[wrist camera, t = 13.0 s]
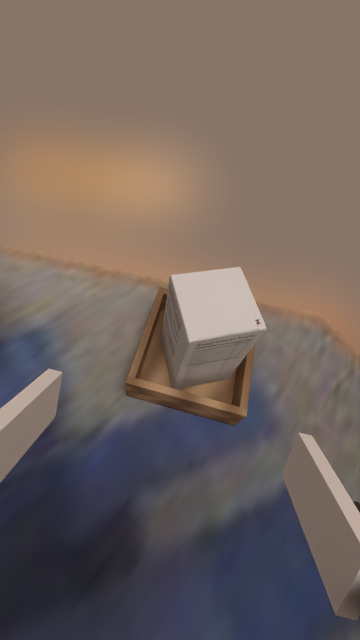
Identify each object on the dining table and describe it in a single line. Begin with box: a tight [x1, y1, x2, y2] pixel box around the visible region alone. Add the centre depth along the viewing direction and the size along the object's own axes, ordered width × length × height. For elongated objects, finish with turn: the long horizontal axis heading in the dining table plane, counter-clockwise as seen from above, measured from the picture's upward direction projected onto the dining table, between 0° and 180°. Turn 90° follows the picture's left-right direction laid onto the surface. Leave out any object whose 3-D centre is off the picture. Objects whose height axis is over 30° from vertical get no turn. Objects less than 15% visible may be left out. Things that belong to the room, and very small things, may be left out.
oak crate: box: [126, 287, 255, 426], centre depth 46 cm, size 17×17×6 cm
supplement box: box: [161, 267, 267, 389], centre depth 41 cm, size 10×9×17 cm
